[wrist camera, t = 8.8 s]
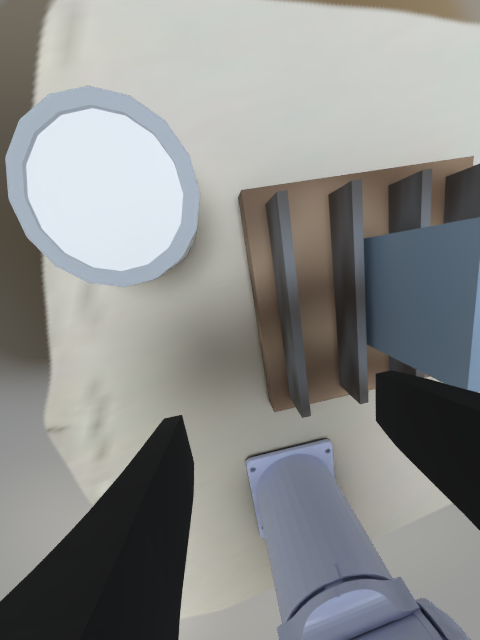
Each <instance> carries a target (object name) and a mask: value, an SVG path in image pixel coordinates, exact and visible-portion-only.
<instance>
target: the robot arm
mask: <svg viewBox="0 0 480 640" xmlns="http://www.w3.org/2000/svg"><path fill="white" fill-rule="evenodd" d="M376 421H377V423H378V424H379V425H380V426H381V428H382V429H383V430H384V432H385V433H386V434H387V435H388V437H389V438H390V439H391V440H392V442H393V443H394V444H395V445H396V446H397V447H398V448H399V449H400V451H401V452H402V453H403V454H404V455H405V456H406V457H407V458H408V459H409V460H410V461H411V462H412V463H413V464H414V465H415V466H416V467H417V468H418V469H419V470H420V471H421V472H422V473H423V474H424V475H425V476H426V477H427V478H428V479H429V480H430V481H431V482H432V483H433V484H434V485H435V486H436V487H437V488H438V489H439V490H440V491H441V492H442V493H443V494H444V495H445V496H446V497H447V498H448V499H449V500H450V501H451V502H452V503H453V504H454V505H456V506H457V508H458V509H459V510H461V511H462V512H463V513H464V514H465V516H466V517H467V518H468V519H469V520H470V521H471V522H472V523H473V524H474V525H475V526H476V527H477V528H478V529H479V530H480V393H478V392H474V391H470V390H467V389H463V388H459V387H455V386H452V385H448V384H444V383H441V382H437V381H433V380H430V379H426V378H422V377H418V376H414V375H410V374H406V373H402V372H397V371H391V370H390V371H386V372H381V373H376ZM326 449H327V450H326ZM246 467H247V472H248V477H249V482H250V487H251V492H252V497H253V502H254V507H255V512H256V517H257V522H258V527H259V532H260V536H261V537H262V538H265V540H266V545H267V550H268V555H269V560H270V565H271V570H272V575H273V580H274V585H275V590H276V595H277V600H278V605H279V610H280V615H281V620H282V625H280V626H278V628H277V631H278V636H279V640H471V639H470V638H469V637H468V636H467V634H466V633H465V632H464V631H463V630H462V628H461V627H460V626H459V625H458V624H457V623H456V622H455V621H454V620H453V619H452V618H451V617H450V616H449V615H448V614H446V613H445V612H443V611H442V610H440V609H439V608H438V607H436V606H435V605H434V604H433V603H432V602H430V601H429V600H427V599H426V598H420V599H418V600H415V599H414V598H413V596H412V594H411V593H410V591H409V590H408V588H407V586H406V585H405V583H404V581H403V580H402V578H401V577H398V578H395V579H393V578H392V576H391V575H390V573H389V571H388V570H387V568H386V566H385V565H384V563H383V561H382V559H381V557H380V556H379V554H378V552H377V551H376V549H375V547H374V546H373V544H372V542H371V540H370V539H369V537H368V535H367V533H366V532H365V530H364V528H363V527H362V525H361V523H360V521H359V520H358V518H357V516H356V515H355V513H354V511H353V509H352V508H351V506H350V504H349V503H348V501H347V499H346V497H345V496H344V494H343V492H342V491H341V489H340V487H339V485H338V484H337V482H336V480H335V473H334V460H333V448H332V443H331V442H330V440H328V439H324V440H320V441H316V442H312V443H308V444H304V445H300V446H296V447H292V448H288V449H284V450H279V451H275V452H271V453H267V454H263V455H259V456H255V457H251V458H248V459H247V461H246ZM252 467H254V468H252ZM193 494H194V461H193V457H192V453H191V449H190V445H189V441H188V437H187V433H186V429H185V425H184V421H183V417H182V415H179V416H174V417H170V418H165V419H164V420H163V421H162V422H161V423H160V425H159V426H158V427H157V428H156V430H155V431H154V432H153V434H152V435H151V436H150V438H149V439H148V440H147V442H146V443H145V444H144V445H143V447H142V448H141V449H140V451H139V452H138V453H137V454H136V456H135V457H134V458H133V460H132V461H131V462H130V463H129V465H128V466H127V467H126V468H125V470H124V471H123V472H122V473H121V474H120V476H119V477H118V478H117V479H116V480H115V481H114V483H113V484H112V485H111V486H110V487H109V489H108V490H107V491H106V492H105V493H104V494H103V496H102V497H101V498H100V499H99V500H98V501H97V503H96V504H95V505H94V506H93V507H92V508H91V510H90V511H89V512H88V513H87V514H86V515H85V516H84V517H83V518H82V519H81V521H80V522H79V523H78V524H77V525H76V526H75V527H74V528H73V529H72V530H71V531H70V532H69V534H68V535H67V536H66V537H65V538H64V539H63V540H62V541H61V542H60V543H59V544H58V545H57V546H56V547H55V548H54V549H53V550H52V551H51V552H50V553H49V554H48V555H47V556H46V557H45V559H43V561H41V562H40V564H38V565H37V567H36V568H35V569H34V570H33V571H32V572H31V573H29V574H28V575H27V577H25V578H24V579H23V580H22V581H21V582H20V583H19V584H18V585H17V586H16V587H15V588H14V589H13V590H12V591H11V592H10V593H9V594H8V595H7V596H6V597H5V598H4V599H3V600H2V601H0V640H178V635H179V619H180V609H181V598H182V588H183V580H184V572H185V563H186V555H187V547H188V538H189V530H190V522H191V513H192V505H193Z"/></svg>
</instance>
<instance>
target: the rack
mask: <svg viewBox="0 0 480 640" xmlns="http://www.w3.org/2000/svg"><path fill="white" fill-rule="evenodd" d="M473 158H474V156H471V157H464V158H457V159H450V160H444V161H437V162H430V163H423V164H416V165H410V166H403V167H396V168H389V169H382V170H376V171H369V172H362V173H355V174H348V175H341V176H335V177H328V178H321V179H314V180H307V181H301V182H294V183H287V184H280V185H273V186H267V187H260V188H253V189H246V190H241V192H240V194H239V197H238V198H239V205H240V211H241V218H242V225H243V231H244V238H245V244H246V251H247V257H248V264H249V270H250V277H251V283H252V290H253V296H254V303H255V309H256V316H257V323H258V329H259V336H260V342H261V349H262V355H263V362H264V368H265V375H266V381H267V388H268V394H269V401H270V403H271V406H272V408H273V410H274V412H277V411H281V410H285V409H290V408H294V407H296V408H297V410H298V411H299V413H300V415H301V416H302V418H303V417H308V416H311V414H310V404H311V403H316V402H320V401H325V400H329V399H333V398H338V397H342V396H346V395H351V396H352V397H353V398H354V399H355V400H356V401H357V402H358V403H360V404H363V403H367V402H368V390H372V389H376V373H381V372H386V371H390V370H391V371H397V372H402V373H406V374H410V375H414V376H418V377H422V378H424V377H429V375H427V374H425V373H423V372H421V371H419V370H417V369H415V368H413V367H411V366H409V365H407V364H405V363H403V362H401V361H399V360H397V359H395V358H393V357H391V356H389V355H387V354H385V353H383V352H381V351H379V350H377V349H375V348H373V347H371V346H369V345H367V339H366V304H365V269H364V238H369V237H375V236H380V235H385V234H391V233H396V232H402V231H407V230H413V229H418V228H423V227H429V226H434V225H440V224H445V223H451V222H456V221H461V220H467V219H472V218H478V217H480V164H478V165H475V166H473Z"/></svg>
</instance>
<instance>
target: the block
mask: <svg viewBox="0 0 480 640" xmlns="http://www.w3.org/2000/svg"><path fill="white" fill-rule="evenodd" d="M364 269H365V304H366V339H367V345H369V346H371V347H373V348H375V349H377V350H379V351H381V352H383V353H385V354H387V355H389V356H391V357H393V358H395V359H397V360H399V361H401V362H403V363H405V364H407V365H409V366H411V367H413V368H415V369H417V370H419V371H421V372H423V373H425V374H427V375H429V376H431V377H433V378H435V379H437V380H439V381H441V382H443V383H445V384H448V385H452V386H455V387H459V388H463V389H467V390H470V391H474V392H480V217H478V218H472V219H467V220H461V221H456V222H451V223H445V224H440V225H434V226H429V227H423V228H418V229H413V230H407V231H402V232H396V233H391V234H385V235H380V236H375V237H369V238H364Z"/></svg>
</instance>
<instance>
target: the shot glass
mask: <svg viewBox="0 0 480 640" xmlns="http://www.w3.org/2000/svg"><path fill="white" fill-rule="evenodd" d="M5 158H6V171H7V183H8V198H9V201H10V203H11V205H12V206H13V209H14V211H15V213H16V215H17V217H18V219H19V221H20V224H21V226H22V228H23V230H24V232H25V234H26V236H27V237H28V239H29V240H31V242H33V244H34V245H36V247H37V248H38V249H39V250H40V251H41V252H42V253H43V254H44V255H45V256H46V257H47V258H48V259H49V260H50V261H51V262H52V263H53V264H54V265H55V266H57V267H59V268H61V269H63V270H65V271H67V272H69V273H71V274H73V275H75V276H77V277H79V278H81V279H83V280H85V281H87V282H89V283H94V284H103V285H111V286H120V287H127V286H131V285H134V284H138V283H142V282H145V281H149V280H153V279H157V278H158V277H159V276H161V275H162V274H164V273H165V272H166V271H168V270H169V269H171V268H172V267H173V266H175V265H176V264H177V263H179V262H180V261H181V260H182V259H184V258H185V257H186V256H187V255H188V253H189V251H190V249H191V247H192V245H193V243H194V240H195V235H196V231H197V221H198V210H199V198H200V192H199V188H198V184H197V181H196V177H195V174H194V170H193V166H192V163H191V159H190V155H189V154H188V152H187V151H186V150H185V148H184V147H183V145H182V144H181V142H180V141H179V140H178V138H177V137H176V135H175V134H174V132H173V131H172V130H171V128H170V127H169V125H168V124H167V122H166V121H165V120H164V119H162V118H161V117H159V116H158V115H157V114H155V113H154V112H152V111H151V110H150V109H148V108H147V107H145V106H144V105H143V104H141V103H140V102H138V101H137V100H135V99H134V98H133V97H131V96H130V95H126V94H122V93H117V92H113V91H109V90H105V89H101V88H96V87H92V86H84V87H80V88H75V89H70V90H66V91H61V92H56V93H52V94H49V95H47V96H46V97H45V98H44V99H43V100H42V101H40V102H39V103H38V104H37V105H36V106H35V107H34V108H32V109H31V110H30V111H29V112H28V113H27V114H26V115H24V116H23V117H22V118H21V119H20V120H19V122H18V125H17V128H16V130H15V133H14V136H13V138H12V141H11V144H10V146H9V149H8V152H7V154H6V157H5Z"/></svg>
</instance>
